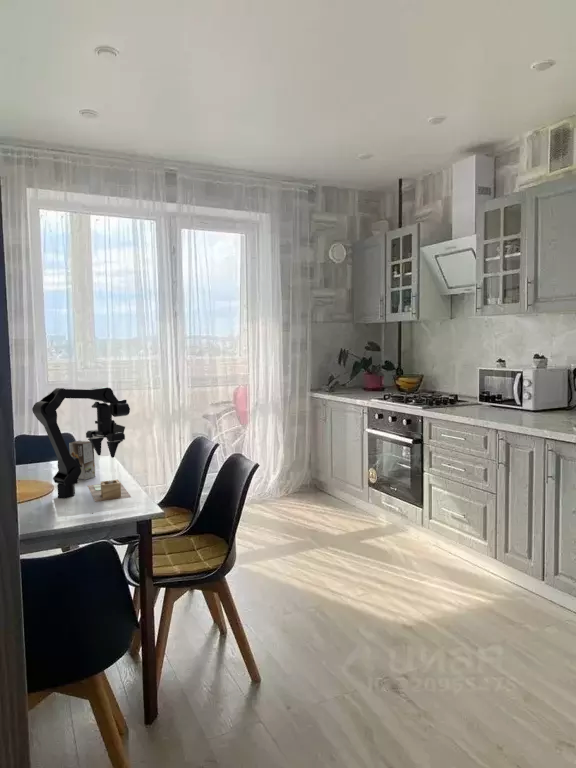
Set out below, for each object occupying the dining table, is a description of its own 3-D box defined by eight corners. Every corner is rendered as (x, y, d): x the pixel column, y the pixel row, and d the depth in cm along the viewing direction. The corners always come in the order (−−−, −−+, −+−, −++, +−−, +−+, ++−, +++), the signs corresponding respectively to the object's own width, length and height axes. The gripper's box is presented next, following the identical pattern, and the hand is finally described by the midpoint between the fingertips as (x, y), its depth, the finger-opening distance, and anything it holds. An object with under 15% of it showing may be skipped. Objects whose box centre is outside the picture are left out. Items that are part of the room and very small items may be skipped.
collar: (121, 495, 216) (120, 483, 216) (103, 498, 214) (102, 485, 213) (118, 492, 222) (117, 479, 222) (101, 494, 220) (100, 481, 219)
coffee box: (96, 476, 256) (94, 441, 254) (85, 479, 250) (83, 443, 249) (81, 475, 260) (79, 440, 259) (70, 478, 254) (68, 442, 253)
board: (131, 500, 215) (130, 483, 214) (95, 505, 209) (94, 487, 209) (120, 484, 240) (119, 469, 239) (87, 488, 234) (86, 472, 234)
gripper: (135, 417, 231) (136, 455, 232) (107, 414, 242) (109, 451, 243) (112, 420, 222) (113, 460, 223) (84, 417, 234) (86, 455, 235)
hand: (105, 456), depth 231 cm, fingers open, 9 cm apart
